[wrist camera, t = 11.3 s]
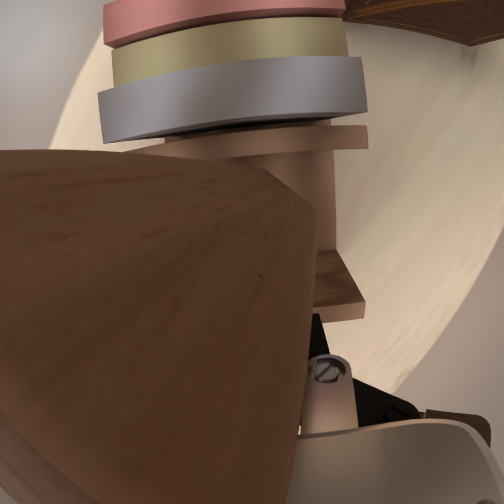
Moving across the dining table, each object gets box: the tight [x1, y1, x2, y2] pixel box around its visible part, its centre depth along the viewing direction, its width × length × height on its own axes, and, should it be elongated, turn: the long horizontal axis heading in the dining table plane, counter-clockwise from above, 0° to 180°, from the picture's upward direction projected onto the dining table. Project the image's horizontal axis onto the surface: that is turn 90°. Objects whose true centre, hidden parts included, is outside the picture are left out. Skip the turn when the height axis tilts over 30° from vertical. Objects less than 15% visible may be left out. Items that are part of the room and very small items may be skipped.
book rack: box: [98, 0, 368, 323], centre depth 21 cm, size 16×25×16 cm, turn 6°
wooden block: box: [0, 150, 318, 504], centre depth 11 cm, size 9×4×18 cm, turn 144°
